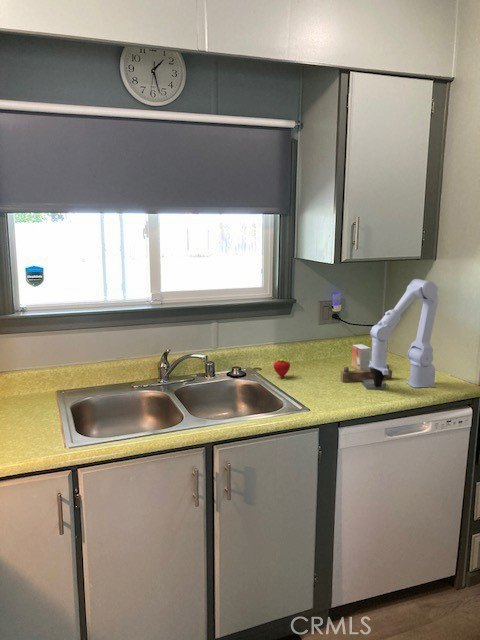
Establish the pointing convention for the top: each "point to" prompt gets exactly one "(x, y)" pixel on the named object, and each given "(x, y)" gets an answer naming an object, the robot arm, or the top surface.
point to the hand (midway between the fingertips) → (377, 386)
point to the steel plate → (372, 384)
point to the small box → (361, 357)
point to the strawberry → (281, 367)
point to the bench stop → (361, 375)
